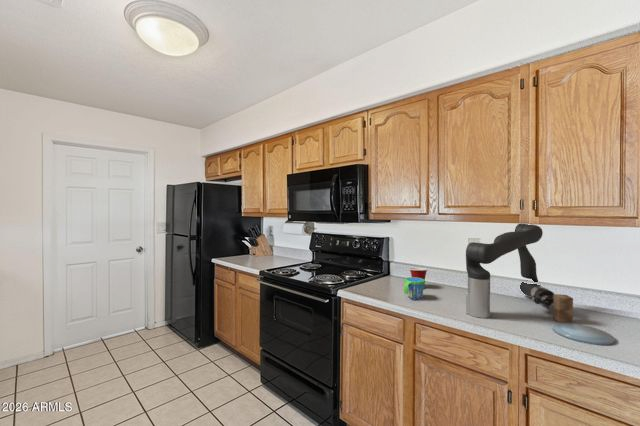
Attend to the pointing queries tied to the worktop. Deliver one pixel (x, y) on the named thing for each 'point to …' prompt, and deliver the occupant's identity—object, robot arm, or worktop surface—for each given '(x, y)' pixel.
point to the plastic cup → (418, 272)
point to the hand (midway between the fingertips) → (559, 305)
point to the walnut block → (563, 308)
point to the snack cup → (414, 287)
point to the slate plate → (583, 333)
